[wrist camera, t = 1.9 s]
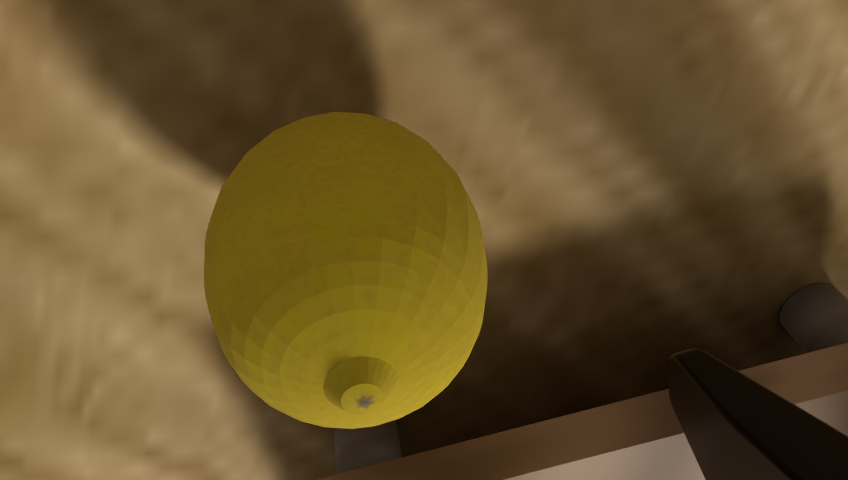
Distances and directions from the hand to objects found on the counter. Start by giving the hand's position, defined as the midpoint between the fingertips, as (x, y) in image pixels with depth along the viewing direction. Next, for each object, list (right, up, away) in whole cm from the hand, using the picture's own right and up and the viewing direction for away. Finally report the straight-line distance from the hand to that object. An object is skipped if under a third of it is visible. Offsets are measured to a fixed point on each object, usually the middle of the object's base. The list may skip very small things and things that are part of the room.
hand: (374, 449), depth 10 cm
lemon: (-1, +5, +7) cm, 9 cm away
